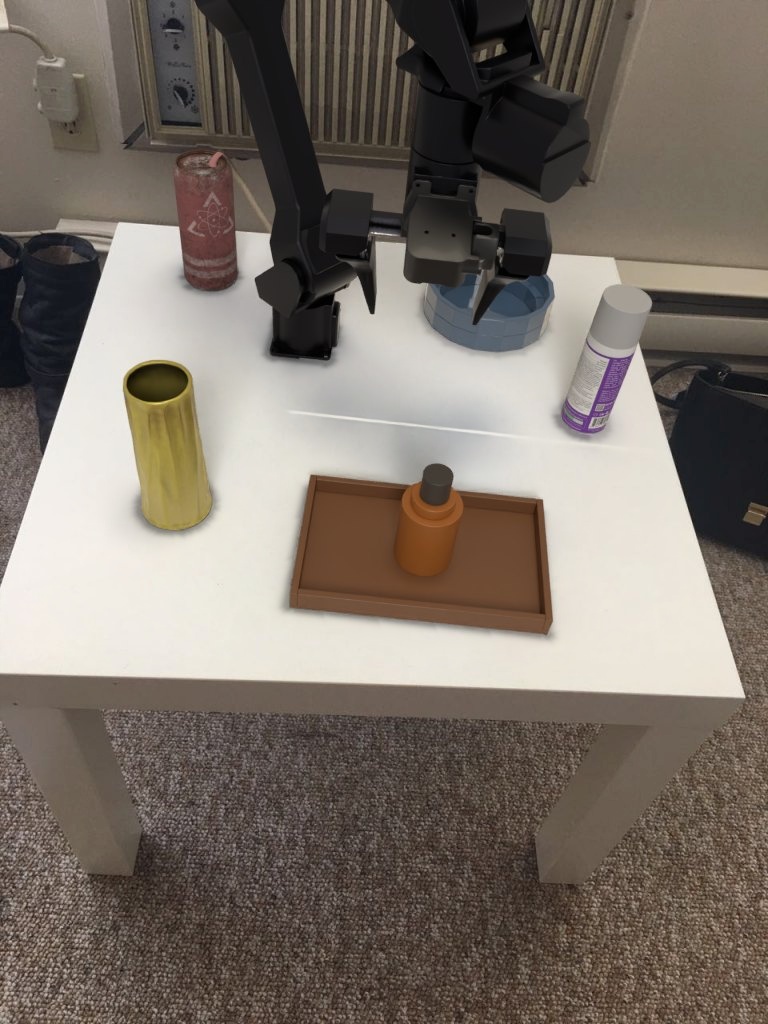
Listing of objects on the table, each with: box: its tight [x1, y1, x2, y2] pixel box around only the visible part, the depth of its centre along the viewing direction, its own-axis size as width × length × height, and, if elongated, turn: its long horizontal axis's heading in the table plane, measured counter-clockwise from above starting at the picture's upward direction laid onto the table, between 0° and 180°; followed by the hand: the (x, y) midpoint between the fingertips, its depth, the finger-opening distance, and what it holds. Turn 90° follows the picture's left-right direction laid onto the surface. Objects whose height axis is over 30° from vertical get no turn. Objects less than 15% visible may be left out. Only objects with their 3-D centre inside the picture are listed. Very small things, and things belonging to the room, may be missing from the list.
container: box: [560, 283, 653, 436], centre depth 79 cm, size 5×5×15 cm
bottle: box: [394, 462, 463, 576], centre depth 67 cm, size 5×5×10 cm
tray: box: [289, 474, 554, 635], centre depth 71 cm, size 21×13×2 cm, turn 86°
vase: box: [122, 359, 213, 531], centre depth 68 cm, size 6×6×14 cm
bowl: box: [423, 270, 556, 353], centre depth 94 cm, size 14×14×4 cm
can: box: [172, 149, 239, 292], centre depth 91 cm, size 6×6×14 cm
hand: (423, 317), depth 74 cm, fingers open, 9 cm apart
